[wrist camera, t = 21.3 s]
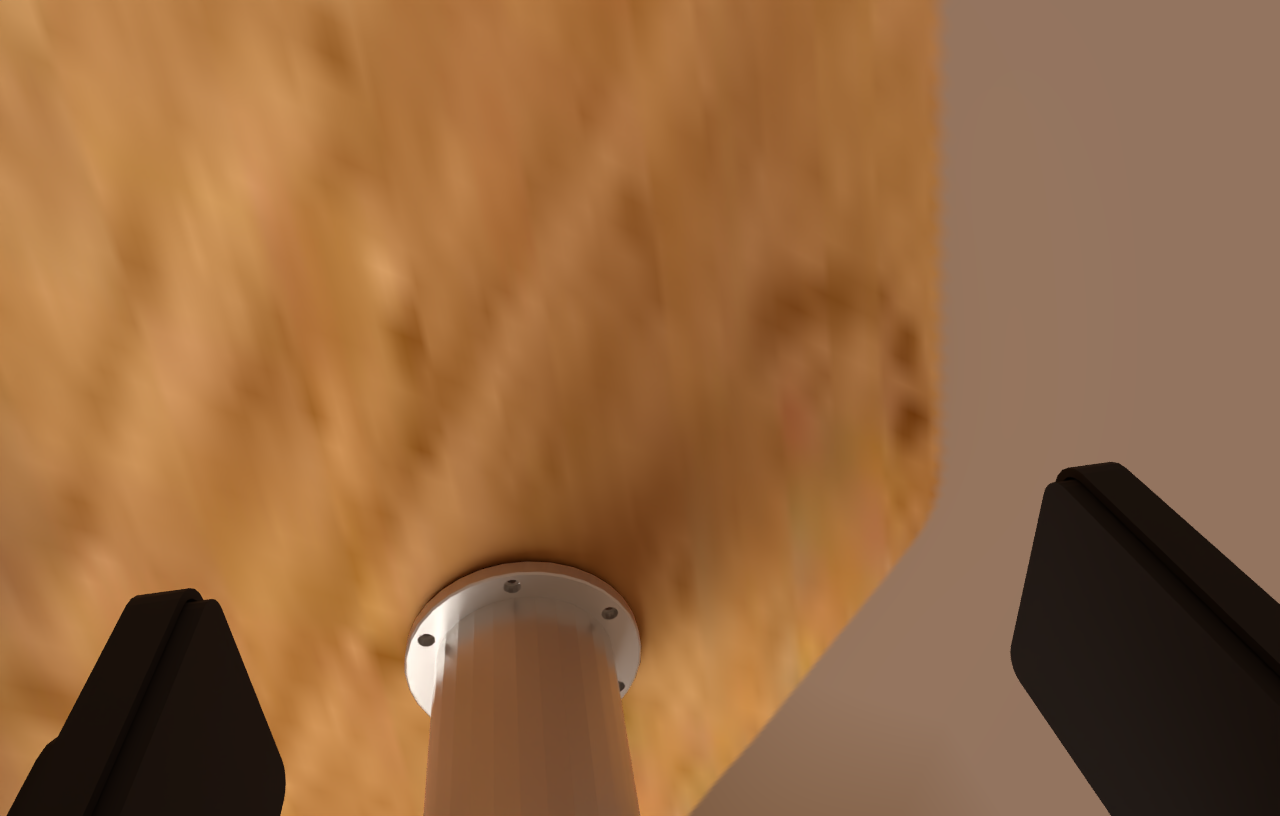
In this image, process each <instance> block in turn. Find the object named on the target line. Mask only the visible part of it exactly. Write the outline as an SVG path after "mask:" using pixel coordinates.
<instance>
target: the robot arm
mask: <svg viewBox="0 0 1280 816" xmlns="http://www.w3.org/2000/svg"><path fill="white" fill-rule="evenodd" d="M640 661H641V641H640V636H639V630H638V626H637V623H636V620H635V617H634V614H633V612H632V610H631V609H630V607H629V606H628V604H627V603H626V601H625V600H624V598H623V597H622V596H621V595H620V594H619V593H618V592H617V591H616V590H614V589H613V588H612V587H611V586H610V585H609V584H607V583H606V582H604V581H602V580H601V579H599V578H597V577H596V576H594V575H592V574H590V573H587V572H585V571H582V570H579V569H577V568H574V567H570V566H566V565H561V564H556V563H551V562H529V561H527V562H517V563H507V564H501V565H497V566H493V567H489V568H485V569H482V570H479V571H477V572H474V573H472V574H470V575H467V576H465V577H462V578H460V579H458V580H457V581H455V582H454V583H452V584H451V585H449V586H447V587H446V588H444V589H443V590H441V591H440V592H439V593H438V594H437V595H436V596H435V597H434V598H432V599H431V600H430V601H429V602H428V603H427V604H426V605H425V607H424V608H423V609H422V611H421V612H420V614H419V615H418V616H417V618H416V619H415V621H414V623H413V626H412V628H411V630H410V633H409V635H408V640H407V646H406V653H405V675H406V679H407V683H408V687H409V690H410V691H411V693H412V695H413V697H414V698H415V700H416V702H417V704H418V705H419V706H420V707H421V708H422V709H423V710H424V711H425V712H426V713H427V714H428V715H429V716H430V717H431V720H430V734H429V748H428V761H427V775H426V788H425V802H424V815H423V816H640V811H639V805H638V799H637V793H636V787H635V781H634V775H633V768H632V762H631V756H630V750H629V744H628V738H627V732H626V726H625V720H624V714H623V707H622V701H621V699H622V698H623V696H624V695H625V694H626V693H627V692H628V690H629V688H630V686H631V685H632V683H633V681H634V679H635V678H636V675H637V671H638V668H639V665H640ZM1011 661H1012V665H1013V669H1014V671H1015V674H1016V676H1017V678H1018V679H1019V681H1020V683H1021V684H1022V686H1023V687H1024V689H1025V690H1026V691H1027V693H1028V694H1029V696H1030V697H1031V699H1032V700H1033V702H1034V703H1035V705H1036V706H1037V708H1038V709H1039V711H1040V712H1041V714H1042V715H1043V716H1044V718H1045V719H1046V721H1047V722H1048V724H1049V725H1050V727H1051V728H1052V729H1053V731H1054V733H1055V734H1056V735H1057V737H1058V738H1059V740H1060V741H1061V743H1062V744H1063V746H1064V747H1065V749H1066V750H1067V752H1068V753H1069V754H1070V756H1071V758H1072V759H1073V760H1074V762H1075V763H1076V765H1077V766H1078V768H1079V769H1080V771H1081V772H1082V774H1083V775H1084V776H1085V778H1086V779H1087V781H1088V783H1089V784H1090V785H1091V787H1092V788H1093V790H1094V791H1095V793H1096V794H1097V796H1098V797H1099V798H1100V800H1101V802H1102V803H1103V804H1104V806H1105V807H1106V809H1107V810H1108V812H1109V813H1110V815H1111V816H1280V604H1279V603H1278V602H1276V601H1275V600H1274V599H1273V598H1272V597H1271V596H1270V595H1269V594H1267V593H1266V592H1265V591H1264V590H1263V589H1262V588H1261V587H1260V586H1258V585H1257V584H1256V583H1255V582H1254V581H1253V580H1252V579H1251V578H1249V577H1248V576H1247V575H1246V574H1245V573H1244V572H1242V571H1241V570H1240V569H1239V568H1238V567H1237V566H1236V565H1235V564H1234V563H1233V562H1231V561H1230V560H1229V559H1228V558H1227V557H1226V556H1225V555H1223V554H1222V553H1221V552H1220V551H1219V550H1218V549H1217V548H1216V547H1214V546H1213V545H1212V544H1211V543H1210V542H1209V541H1208V540H1207V539H1205V538H1204V537H1203V536H1202V535H1201V534H1200V533H1199V532H1198V531H1196V530H1195V529H1194V528H1193V527H1192V526H1191V525H1190V524H1189V523H1187V522H1186V521H1185V520H1184V519H1183V518H1182V517H1180V515H1178V514H1177V513H1176V512H1175V511H1174V510H1173V509H1171V508H1170V507H1169V506H1168V505H1167V504H1166V503H1165V502H1164V501H1163V500H1162V499H1160V498H1159V497H1158V496H1157V495H1156V494H1155V493H1153V492H1152V491H1151V490H1150V489H1149V488H1148V487H1147V486H1146V485H1145V484H1143V483H1142V482H1141V481H1140V480H1139V479H1138V478H1136V477H1135V476H1134V475H1133V474H1132V473H1131V472H1130V471H1129V470H1128V469H1127V468H1125V467H1124V466H1122V465H1121V464H1119V463H1115V462H1107V463H1099V464H1092V465H1085V466H1078V467H1071V468H1067V469H1064V470H1062V471H1061V472H1060V474H1059V475H1058V476H1057V479H1056V482H1054V483H1050V484H1049V485H1048V486H1047V487H1046V489H1045V492H1044V495H1043V500H1042V505H1041V509H1040V514H1039V518H1038V523H1037V528H1036V532H1035V537H1034V542H1033V547H1032V551H1031V556H1030V560H1029V565H1028V570H1027V574H1026V579H1025V583H1024V588H1023V593H1022V597H1021V602H1020V607H1019V611H1018V616H1017V621H1016V625H1015V630H1014V635H1013V640H1012V644H1011ZM285 785H286V782H285V770H284V765H283V762H282V759H281V756H280V754H279V751H278V749H277V746H276V744H275V741H274V739H273V736H272V734H271V731H270V729H269V726H268V724H267V721H266V719H265V716H264V714H263V711H262V709H261V706H260V704H259V701H258V698H257V696H256V693H255V691H254V688H253V686H252V683H251V681H250V678H249V676H248V673H247V671H246V668H245V666H244V663H243V661H242V658H241V656H240V653H239V651H238V648H237V646H236V643H235V641H234V638H233V636H232V633H231V631H230V628H229V626H228V623H227V621H226V618H225V615H224V613H223V610H222V608H221V606H220V604H219V603H218V602H217V601H216V600H214V599H209V600H203V598H202V596H201V595H200V593H199V592H198V591H196V590H195V589H191V588H188V589H181V590H174V591H166V592H159V593H152V594H144V595H137V596H135V597H134V598H132V599H131V600H130V601H129V602H128V604H127V605H126V607H125V609H124V611H123V613H122V614H121V616H120V618H119V620H118V622H117V624H116V626H115V628H114V630H113V632H112V634H111V636H110V638H109V639H108V641H107V643H106V645H105V647H104V649H103V651H102V653H101V655H100V657H99V659H98V661H97V662H96V664H95V666H94V668H93V670H92V672H91V674H90V676H89V678H88V680H87V682H86V684H85V686H84V687H83V689H82V691H81V693H80V695H79V697H78V699H77V701H76V703H75V705H74V707H73V709H72V711H71V712H70V714H69V716H68V718H67V720H66V722H65V724H64V726H63V728H62V730H61V732H60V734H59V736H58V737H57V738H55V739H54V740H53V741H51V742H50V743H49V744H47V745H46V747H45V748H44V749H43V751H42V752H41V754H40V755H39V757H38V758H37V760H36V761H35V763H34V765H33V767H32V769H31V771H30V773H29V775H28V776H27V778H26V780H25V782H24V784H23V786H22V788H21V790H20V791H19V793H18V795H17V797H16V799H15V801H14V803H13V805H12V807H11V808H10V810H9V812H8V814H7V816H280V814H281V810H282V806H283V801H284V796H285Z"/></svg>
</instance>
